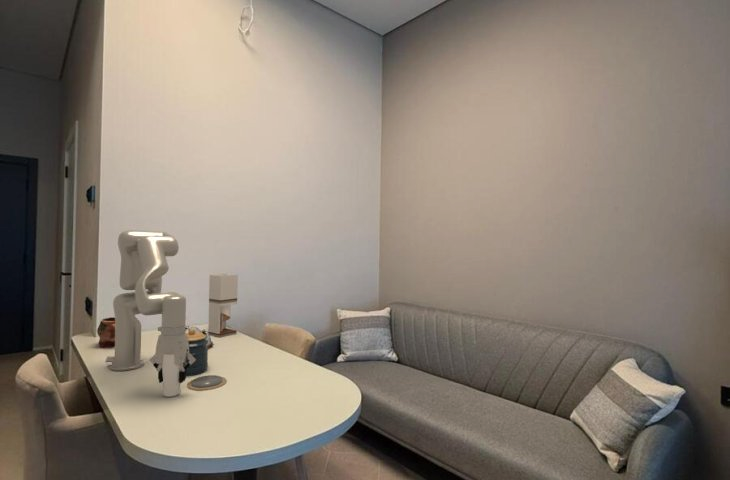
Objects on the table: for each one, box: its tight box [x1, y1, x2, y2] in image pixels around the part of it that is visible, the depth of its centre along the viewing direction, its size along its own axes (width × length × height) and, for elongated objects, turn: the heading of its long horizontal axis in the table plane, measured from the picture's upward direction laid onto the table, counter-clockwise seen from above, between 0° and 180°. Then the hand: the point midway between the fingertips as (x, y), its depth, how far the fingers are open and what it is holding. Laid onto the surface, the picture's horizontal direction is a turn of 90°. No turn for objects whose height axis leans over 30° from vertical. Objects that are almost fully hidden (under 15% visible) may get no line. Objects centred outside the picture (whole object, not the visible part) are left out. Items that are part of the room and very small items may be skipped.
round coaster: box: [186, 374, 228, 391], centre depth 144 cm, size 14×14×1 cm
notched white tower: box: [207, 273, 239, 339], centre depth 222 cm, size 11×11×35 cm
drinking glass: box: [162, 354, 182, 398], centre depth 133 cm, size 7×7×15 cm
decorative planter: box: [96, 316, 115, 349], centre depth 193 cm, size 20×12×14 cm, turn 50°
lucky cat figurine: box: [185, 325, 215, 350], centre depth 191 cm, size 15×12×14 cm
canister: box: [186, 329, 209, 377], centre depth 158 cm, size 13×13×18 cm
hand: (172, 381), depth 133 cm, fingers closed on drinking glass, 6 cm apart
